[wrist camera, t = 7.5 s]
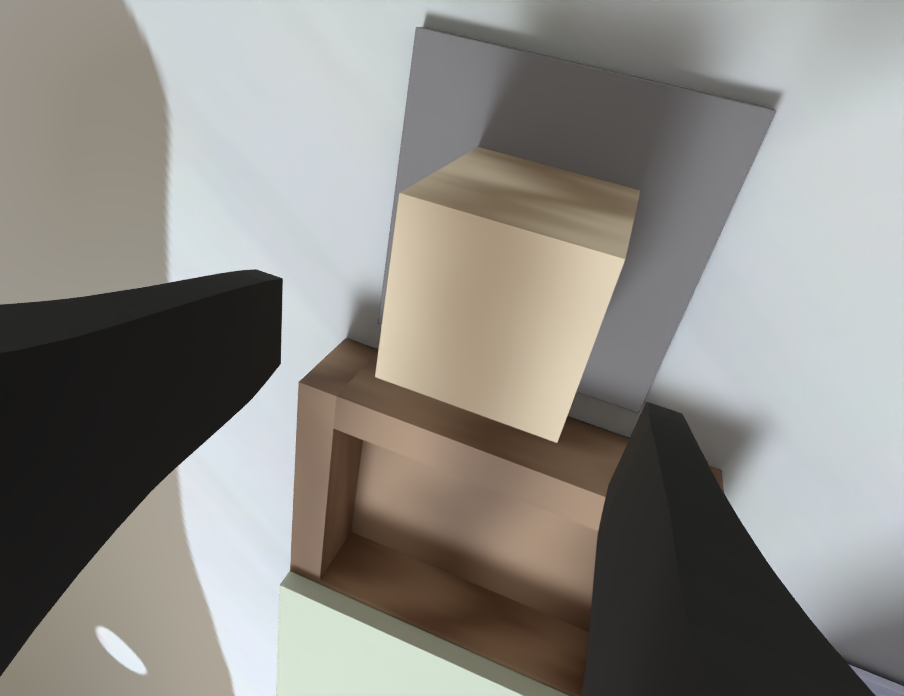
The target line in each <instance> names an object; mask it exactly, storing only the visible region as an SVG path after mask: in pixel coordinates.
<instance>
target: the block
mask: <svg viewBox="0 0 904 696" xmlns="http://www.w3.org/2000/svg"><path fill="white" fill-rule="evenodd" d="M639 195H640V190H637V189H633V188H629V187H626V186H622V185H618V184H615V183H611V182H607V181H603V180H600V179H596V178H592V177H589V176H585V175H581V174H577V173H574V172H570V171H566V170H563V169H559V168H555V167H551V166H548V165H544V164H540V163H537V162H533V161H529V160H525V159H522V158H518V157H514V156H511V155H507V154H503V153H499V152H496V151H492V150H488V149H484V148H481V147H477V148H475V149H473V150H472V151H470V152H468V153H466V154H465V155H463V156H461V157H460V158H458V159H456V160H455V161H453V162H451V163H449V164H448V165H446V166H444V167H443V168H441V169H439V170H438V171H436V172H434V173H432V174H431V175H429V176H427V177H426V178H424V179H422V180H421V181H419V182H417V183H415V184H414V185H412V186H410V187H409V188H407V189H405V190H404V191H402V192H400V193H399V199H398V206H397V214H396V222H395V229H394V237H393V244H392V252H391V260H390V267H389V275H388V282H387V290H386V297H385V305H384V313H383V320H382V328H381V335H380V343H379V350H378V358H377V366H376V373H375V377H376V378H379V379H382V380H385V381H387V382H390V383H393V384H396V385H399V386H401V387H404V388H407V389H410V390H412V391H415V392H418V393H421V394H423V395H426V396H429V397H432V398H434V399H437V400H440V401H443V402H445V403H448V404H451V405H454V406H456V407H459V408H462V409H465V410H468V411H470V412H473V413H476V414H479V415H481V416H484V417H487V418H490V419H492V420H495V421H498V422H501V423H503V424H506V425H509V426H512V427H514V428H517V429H520V430H523V431H525V432H528V433H531V434H534V435H537V436H539V437H542V438H545V439H548V440H550V441H553V442H556V443H557V442H558V440H559V437H560V434H561V432H562V429H563V426H564V423H565V421H566V418H567V415H568V413H569V410H570V407H571V405H572V402H573V399H574V396H575V394H576V391H577V388H578V386H579V383H580V380H581V378H582V375H583V372H584V369H585V367H586V364H587V361H588V359H589V356H590V353H591V351H592V348H593V345H594V342H595V340H596V337H597V334H598V332H599V329H600V326H601V324H602V321H603V318H604V315H605V313H606V310H607V307H608V305H609V302H610V299H611V297H612V294H613V291H614V288H615V286H616V283H617V280H618V278H619V275H620V272H621V270H622V267H623V264H624V261H625V258H626V254H627V249H628V245H629V240H630V236H631V231H632V227H633V222H634V218H635V213H636V209H637V204H638V200H639Z"/></svg>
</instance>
